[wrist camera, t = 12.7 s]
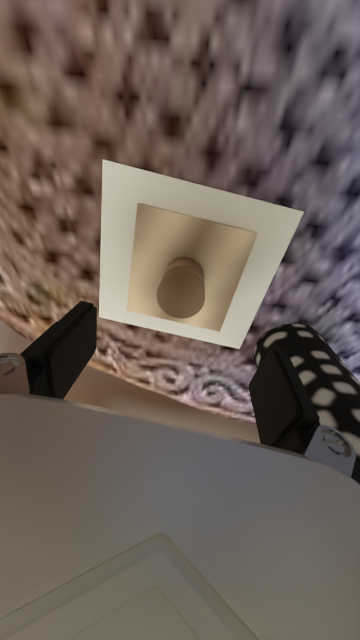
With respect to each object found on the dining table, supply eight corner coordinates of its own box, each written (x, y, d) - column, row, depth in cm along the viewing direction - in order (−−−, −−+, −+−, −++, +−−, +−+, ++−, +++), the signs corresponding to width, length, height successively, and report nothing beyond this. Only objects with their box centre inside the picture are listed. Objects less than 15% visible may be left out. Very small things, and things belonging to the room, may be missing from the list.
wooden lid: (255, 232, 20) (274, 246, 15) (219, 327, 26) (223, 360, 21) (140, 202, 20) (118, 207, 15) (129, 306, 25) (111, 335, 20)
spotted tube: (334, 326, 25) (622, 618, 8) (308, 377, 29) (459, 638, 12) (262, 320, 25) (389, 587, 8) (247, 372, 30) (310, 617, 13)
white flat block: (302, 211, 19) (304, 211, 19) (239, 347, 28) (239, 349, 27) (104, 159, 19) (102, 159, 18) (100, 315, 27) (98, 317, 26)
